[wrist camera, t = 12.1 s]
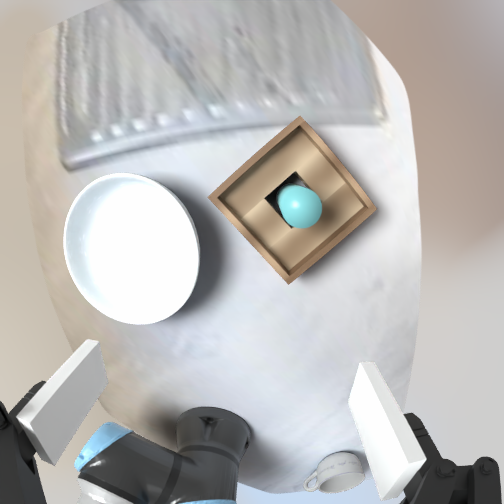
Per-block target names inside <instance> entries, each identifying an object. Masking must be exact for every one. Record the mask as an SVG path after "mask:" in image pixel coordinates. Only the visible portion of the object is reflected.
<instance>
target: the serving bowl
mask: <svg viewBox="0 0 504 504" xmlns="http://www.w3.org/2000/svg"><path fill="white" fill-rule="evenodd" d="M64 252H65V258H66V262H67V266H68V269H69V272H70V274H71V276H72V278H73V280H74V282H75V284H76V286H77V288H78V289H79V290H80V292H81V293H82V295H83V296H84V297H85V298H86V299H87V300H88V301H89V302H90V303H91V304H92V305H93V306H94V307H95V308H96V309H98V310H99V311H101V312H102V313H104V314H105V315H107V316H109V317H111V318H113V319H115V320H118V321H121V322H124V323H129V324H151V323H156V322H159V321H162V320H164V319H166V318H168V317H170V316H171V315H173V314H174V313H176V312H177V311H178V310H179V309H180V308H181V307H182V306H183V305H184V304H185V303H186V301H187V300H188V298H189V297H190V295H191V293H192V291H193V289H194V287H195V284H196V281H197V277H198V273H199V266H200V245H199V238H198V234H197V231H196V228H195V225H194V222H193V220H192V218H191V216H190V214H189V212H188V211H187V209H186V207H185V206H184V205H183V203H182V202H181V201H180V200H179V198H178V197H177V196H176V195H175V194H174V193H173V192H171V191H170V190H169V189H168V188H166V187H165V186H163V185H162V184H160V183H159V182H157V181H155V180H153V179H150V178H148V177H145V176H142V175H138V174H132V173H115V174H110V175H106V176H103V177H101V178H99V179H97V180H95V181H93V182H92V183H90V184H89V185H88V186H87V187H85V188H84V189H83V190H82V191H81V193H80V194H79V195H78V196H77V198H76V199H75V201H74V202H73V204H72V206H71V208H70V211H69V213H68V216H67V219H66V223H65V230H64Z"/></svg>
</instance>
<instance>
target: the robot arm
mask: <svg viewBox="0 0 504 504" xmlns="http://www.w3.org/2000/svg"><path fill="white" fill-rule="evenodd" d="M107 384H108V379H107V375H106V370H105V366H104V362H103V357H102V352H101V347H100V342H99V341H95V340H90V339H87V340H86V341H85V342H84V343H83V344H82V345H81V346H80V347H79V348H78V349H77V350H76V351H75V352H74V353H73V354H72V355H71V357H70V358H69V359H68V360H67V361H66V362H65V363H64V364H63V365H62V366H61V367H60V368H59V369H58V370H57V371H56V372H55V374H54V375H53V376H52V377H51V378H50V379H49V380H48V381H47V382H45V381H41V382H39V383H38V384H36V385H34V386H33V387H32V388H31V390H29V393H27V394H26V395H25V396H24V398H22V399H21V400H20V401H19V403H18V404H17V405H16V406H15V407H14V408H13V409H12V410H11V411H10V413H9V414H8V412H7V411H6V408H5V406H4V405H3V403H2V402H1V401H0V504H47V503H46V500H45V496H44V492H43V489H42V485H41V481H40V477H39V473H38V469H37V464H36V460H35V458H34V454H35V453H36V452H37V453H38V455H39V456H40V458H41V459H42V460H43V461H46V462H48V463H50V464H52V465H54V466H55V465H56V463H57V461H58V460H59V458H60V456H61V455H62V453H63V452H64V450H65V448H66V446H67V445H68V444H69V442H70V440H71V439H72V437H73V435H74V434H75V433H76V431H77V429H78V428H79V426H80V425H81V423H82V422H83V420H84V419H85V417H86V416H87V414H88V412H89V411H90V409H91V408H92V406H93V405H94V403H95V402H96V400H97V399H98V397H99V396H100V394H101V393H102V391H103V390H104V388H105V387H106V385H107ZM348 405H349V407H350V410H351V413H352V416H353V419H354V422H355V424H356V427H357V430H358V433H359V436H360V439H361V442H362V445H363V448H364V451H365V454H366V457H367V460H368V463H369V466H370V469H371V472H372V475H373V478H374V481H375V484H376V487H377V490H378V494H379V497H380V500H381V501H383V500H388V499H392V498H396V497H398V496H399V495H400V493H401V492H402V491H403V490H404V493H405V495H406V497H405V498H404V499H403V500H402V501H401V503H400V504H502V503H501V485H500V474H499V467H498V464H497V462H496V461H495V460H494V459H492V458H490V457H481V458H479V459H477V461H476V462H475V463H474V464H473V465H468V466H456V464H455V463H454V462H452V461H450V460H448V459H443V458H442V457H441V455H440V453H439V451H438V450H437V448H436V446H435V444H434V443H433V441H432V439H431V437H430V435H428V432H427V430H426V429H425V427H424V425H423V423H422V421H421V420H420V419H419V418H418V417H417V416H416V415H414V414H413V413H408V414H403V413H402V411H401V409H400V407H399V405H398V403H397V402H396V400H395V398H394V396H393V394H392V393H391V391H390V389H389V387H388V385H387V384H386V382H385V380H384V378H383V377H382V375H381V373H380V371H379V370H378V368H377V366H376V364H375V363H374V361H371V362H360V364H359V367H358V371H357V374H356V378H355V381H354V384H353V388H352V391H351V394H350V397H349V400H348ZM176 436H177V447H178V453H176V452H174V451H171V450H169V449H167V448H165V447H163V446H160V445H158V444H156V443H154V442H152V441H150V440H148V439H146V438H144V437H142V436H140V435H138V434H136V433H135V432H134V431H133V430H129V429H126V428H124V427H122V426H120V425H118V424H116V423H114V422H107V423H105V424H103V425H102V426H101V427H100V428H99V429H98V430H97V431H96V432H95V433H94V434H93V436H92V437H91V438H90V439H89V441H88V442H87V443H86V445H85V446H84V448H83V449H82V451H81V453H80V454H79V456H78V457H77V459H76V461H75V464H74V466H75V468H76V469H77V471H79V472H81V473H80V475H79V477H78V479H77V481H78V483H79V485H80V488H81V492H82V493H81V495H80V498H79V500H78V502H77V504H236V491H237V480H238V468H239V462H240V461H241V459H242V457H243V455H244V453H245V451H246V449H247V448H248V446H249V443H250V429H249V426H248V425H247V423H246V422H245V421H244V420H243V419H242V418H240V417H239V416H237V415H236V414H234V413H232V412H229V411H226V410H223V409H219V408H213V407H198V408H193V409H190V410H188V411H186V412H184V413H183V414H182V415H181V416H180V417H179V419H178V422H177V425H176Z"/></svg>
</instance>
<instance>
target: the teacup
mask: <svg viewBox="0 0 504 504" xmlns="http://www.w3.org/2000/svg"><path fill="white" fill-rule="evenodd" d="M316 476H317V481H316V484H315V486H314V487H312V488H309V487H308V483H309V482H310V481H311V480H312V479H313V478H315V477H316ZM364 479H365V474H364V472H363V469H362V466H361V463H360V460H359V459H358V457H357V456H355V455H354V454H350V453H346V452H339V453H334V454H331V455H329V456H327V457H326V458H325V459H323V461H321V462H320V463H319V465H318V467H317V470H315V471H314V473H313V474H312V475H310V476H309V477H308V478H307V479H306V480H305V481H304V483H303V487H304V489H305V490H306V491H309V492H312V491H315V490H317V489H319V491H321V492H323V493H338V492H342V491H346V490H349V489H352V488H354V487H356V486H357V485H359V484H360V483H361V482H363V480H364Z"/></svg>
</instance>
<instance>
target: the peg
mask: <svg viewBox="0 0 504 504" xmlns="http://www.w3.org/2000/svg"><path fill="white" fill-rule="evenodd" d="M277 203H278V205H279V208H280V210H281V212H282V214H283V217H284V219H285V220H286V221H287V222H288V223H289V224H290V225H291V226H293V227H296V228H308V227H311V226H312V225H314V224H315V223H316V222H317V221H318V220H319V218H320V216H321V213H322V203H321V200H320V198H319V197H318V195H317V194H316V193H315V192H313V191H312V190H310V189H307V188H305V187H302V186H299V185H297V184H293V183H289V184H285V185H283V186H282V187H281V188H280V189H279V191H278V193H277Z"/></svg>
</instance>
